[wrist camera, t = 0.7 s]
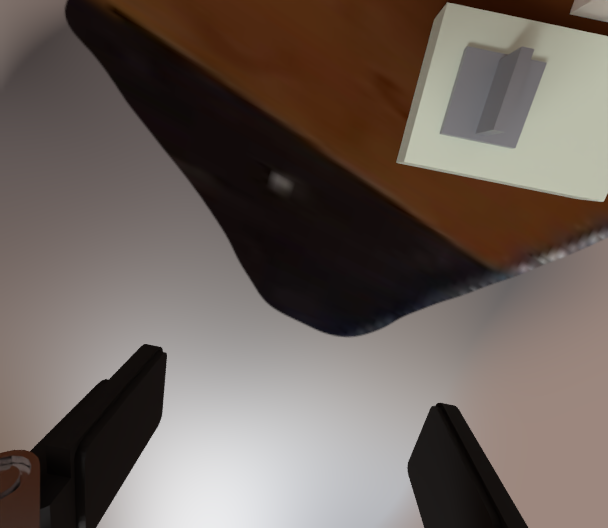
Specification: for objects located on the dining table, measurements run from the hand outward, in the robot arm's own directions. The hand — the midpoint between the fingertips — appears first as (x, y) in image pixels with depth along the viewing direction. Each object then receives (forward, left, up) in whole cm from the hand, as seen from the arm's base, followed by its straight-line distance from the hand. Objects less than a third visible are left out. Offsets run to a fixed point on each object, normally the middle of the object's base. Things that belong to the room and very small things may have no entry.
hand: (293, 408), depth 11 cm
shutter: (-17, +13, -23) cm, 31 cm away
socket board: (-17, +17, -26) cm, 35 cm away
